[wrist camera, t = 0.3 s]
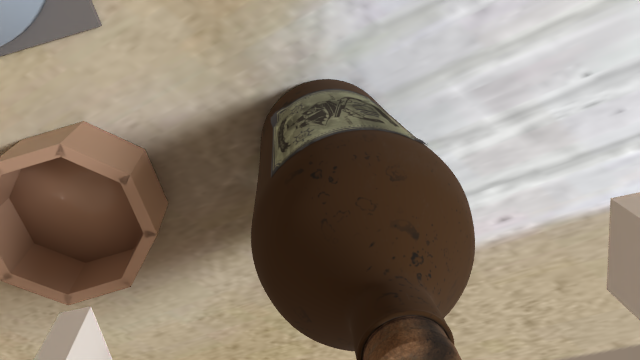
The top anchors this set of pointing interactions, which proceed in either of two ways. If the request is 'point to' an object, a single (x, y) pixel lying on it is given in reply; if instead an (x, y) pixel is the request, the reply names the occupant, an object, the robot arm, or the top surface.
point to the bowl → (76, 213)
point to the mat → (56, 24)
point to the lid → (17, 17)
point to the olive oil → (359, 226)
